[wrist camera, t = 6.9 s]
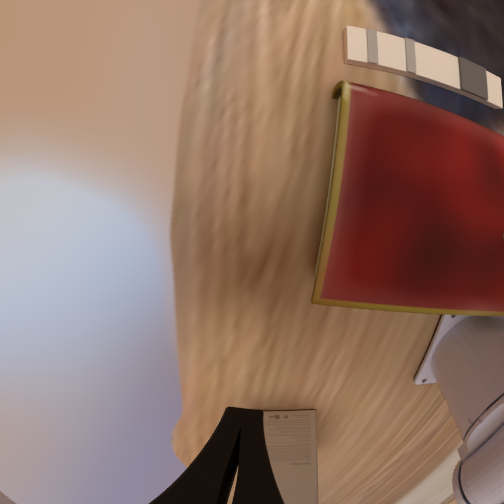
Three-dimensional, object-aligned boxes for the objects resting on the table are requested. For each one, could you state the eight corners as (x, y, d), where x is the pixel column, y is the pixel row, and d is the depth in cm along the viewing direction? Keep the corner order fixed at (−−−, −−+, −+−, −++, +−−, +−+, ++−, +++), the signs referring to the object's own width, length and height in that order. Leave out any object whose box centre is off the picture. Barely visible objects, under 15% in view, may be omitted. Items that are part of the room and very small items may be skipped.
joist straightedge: (492, 79, 12) (502, 77, 10) (494, 109, 13) (504, 108, 11) (343, 31, 13) (347, 23, 12) (344, 63, 14) (348, 57, 12)
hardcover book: (331, 91, 15) (344, 74, 11) (545, 170, 13) (576, 178, 9) (307, 274, 19) (312, 306, 15) (515, 295, 17) (539, 318, 14)
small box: (248, 409, 24) (225, 533, 12) (316, 408, 23) (319, 536, 11) (256, 449, 27) (240, 548, 14) (312, 449, 26) (311, 549, 14)
